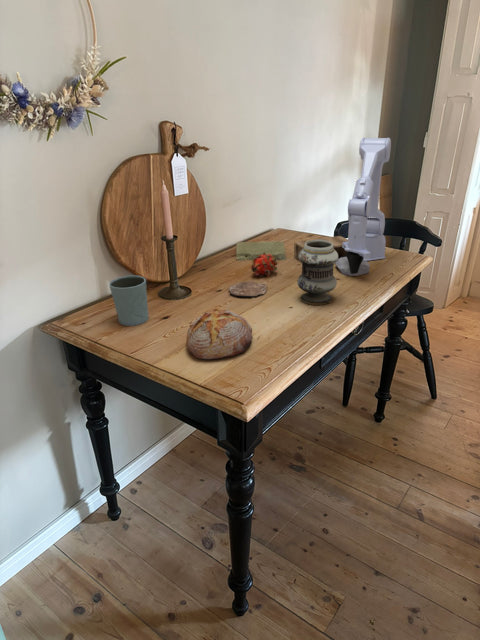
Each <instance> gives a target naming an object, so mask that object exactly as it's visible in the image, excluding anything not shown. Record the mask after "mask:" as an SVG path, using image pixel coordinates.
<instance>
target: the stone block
mask: <svg viewBox="0 0 480 640" xmlns="http://www.w3.org/2000/svg"><path fill="white" fill-rule="evenodd" d="M334 266H336V267H337V268H338V270H339V271H340V273H341V274H342V275H344V276H350V277H353V276H354V277H356V276H357V277H358V276H361V275H367V274H369V273H370V268H371V267H370V262H368V261H365V260H363V261H362V263H361V265H360V267H359V270H358V273H355V274H352V273H351V272H350V266H349V262H348V259H347V257H343V256H341V257H340V258H339V257H338V260H337V261H336V262H335V263H334Z"/></svg>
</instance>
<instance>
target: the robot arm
mask: <svg viewBox="0 0 480 640" xmlns="http://www.w3.org/2000/svg"><path fill="white" fill-rule="evenodd" d="M391 149H392V140H391V138H390V137H384V138H383V137H362V138H361V139H360V141H359V148H358V151H359V153H358V154H359V156H360V160H362V167H361V172H360V173H361V174H360V177H359V178H358V179H356V181H355V185H354V189H353V194H352V197H351V199H349V200H348V204H347V215H348V216H347V221H348V232H347V233H348V234H347V239H348V242H343V244H342V248H345V251H349V252H348V253H345V255H346V257H347V259H348V262H349V266H350V272H351V273H352V274H355V273H358V270H359V267H360V265H361V263H362V261H363V260H365V261H367V262H368V261H369V262H371V261H377V260H383V259H386V256H385V252H386V244H387V243H386V236H385V235H384V232H385V226H386V221H385V220H386V216H385V213H384V212H383V211H381V210H380V208H379V203H380V193H381V184H382V183H381V182H382V175H383V174H382V172H383V166H384V164H385V163H388V162H389V160H390V157H391V151H392V150H391Z"/></svg>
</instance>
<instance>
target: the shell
mask: <svg viewBox="0 0 480 640" xmlns="http://www.w3.org/2000/svg"><path fill="white" fill-rule="evenodd" d="M228 292H229V293H230V295H231V296H233V297H235V298H237V299H240V298H243V299H248V298H251V299H255V298H259V297H262V296H264V295H265V294H266V293H267V292H268V286H267V284H266V283H258V282H255V281H248V280H247V281H246V280H245V281H238V282H237V283H234V284H231V285H229V288H228Z"/></svg>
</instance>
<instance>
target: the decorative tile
mask: <svg viewBox="0 0 480 640" xmlns="http://www.w3.org/2000/svg"><path fill="white" fill-rule="evenodd" d="M235 246H236V249H235V252H236V253H235V254H236V255H235V256H236V257H235V258H236V261H240V262H241V261H242V262H243V261H253V260H254V259H255V258H256V257H257V256H258V255H263V253H266V254H267V255H269V254H272V255H273V256H274V257H275V258H276V261H286V260H287V258H286V250H285V249H286V248H285V244H284V241H249V242H248V241H247V242H245V241H238V242H237V243H236V245H235Z"/></svg>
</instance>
